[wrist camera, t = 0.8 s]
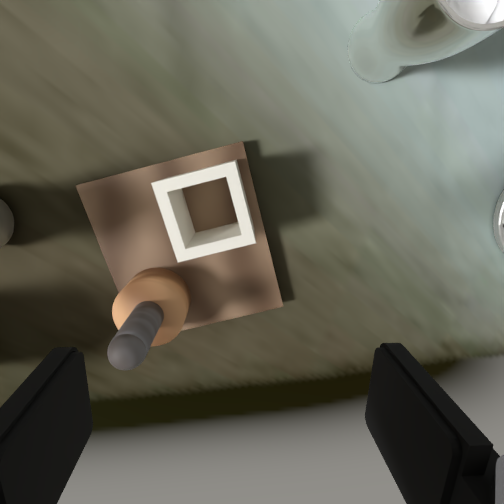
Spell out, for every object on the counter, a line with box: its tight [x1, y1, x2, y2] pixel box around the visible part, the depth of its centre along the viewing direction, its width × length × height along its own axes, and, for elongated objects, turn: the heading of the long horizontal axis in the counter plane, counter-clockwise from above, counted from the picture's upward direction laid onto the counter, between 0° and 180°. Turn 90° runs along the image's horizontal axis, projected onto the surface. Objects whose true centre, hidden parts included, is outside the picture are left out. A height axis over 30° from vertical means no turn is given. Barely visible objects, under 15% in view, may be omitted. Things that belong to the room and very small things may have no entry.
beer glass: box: [347, 0, 504, 83], centre depth 24 cm, size 7×7×15 cm
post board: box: [75, 141, 283, 370], centre depth 30 cm, size 17×18×13 cm
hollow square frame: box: [151, 160, 256, 262], centre depth 30 cm, size 7×7×6 cm
